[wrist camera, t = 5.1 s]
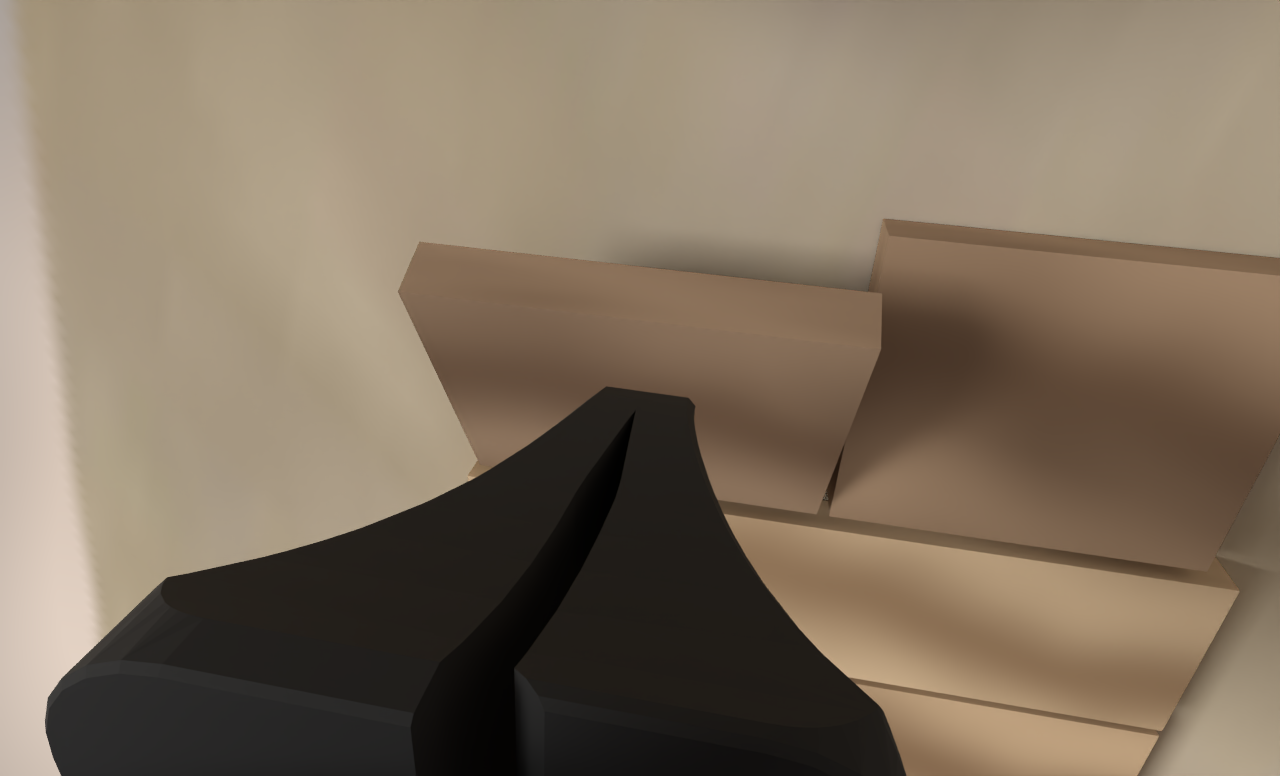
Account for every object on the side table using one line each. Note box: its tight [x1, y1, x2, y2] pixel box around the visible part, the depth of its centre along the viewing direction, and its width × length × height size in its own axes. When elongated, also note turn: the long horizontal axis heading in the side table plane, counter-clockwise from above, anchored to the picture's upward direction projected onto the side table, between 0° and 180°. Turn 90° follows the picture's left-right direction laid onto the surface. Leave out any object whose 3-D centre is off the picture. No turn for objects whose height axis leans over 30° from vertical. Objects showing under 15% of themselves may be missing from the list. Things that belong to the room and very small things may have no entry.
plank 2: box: [827, 219, 1280, 572], centre depth 17 cm, size 7×8×1 cm
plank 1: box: [398, 242, 882, 514], centre depth 17 cm, size 7×8×1 cm
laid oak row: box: [468, 461, 1240, 776], centre depth 22 cm, size 10×18×1 cm, turn 88°
